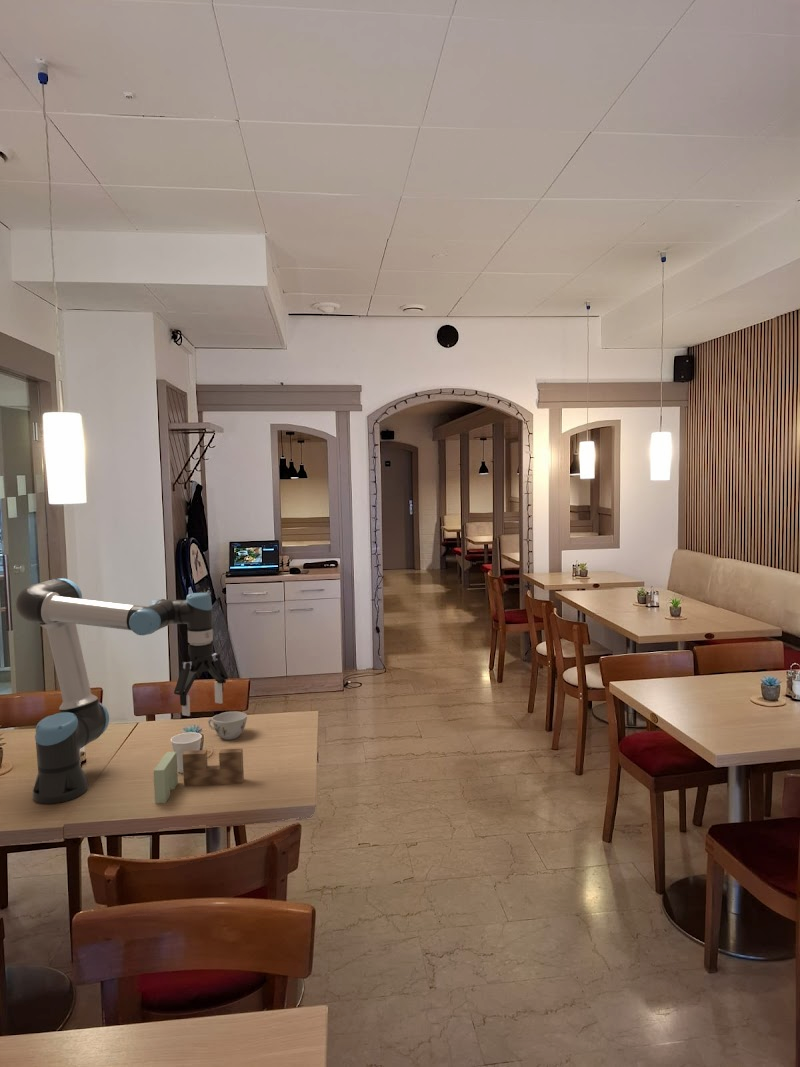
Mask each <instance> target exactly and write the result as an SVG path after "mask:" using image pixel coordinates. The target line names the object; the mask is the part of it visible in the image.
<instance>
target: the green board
mask: <svg viewBox="0 0 800 1067" xmlns="http://www.w3.org/2000/svg"><path fill="white" fill-rule="evenodd" d="M178 772H179V771H178V768H177V752H174V751H166V753H165V754H164V755H163V757H162V758H161V759H160V761H159V762H158V764H157V765H156V766H155V768H154V769H153V784H154V785H153V786H154V803H155V804H166V803H167V801H168V800H169V798H170V797H171V792H170V791H171V790H175V788H176V786H177V785H178V783H179V777H178V774H179V773H178Z"/></svg>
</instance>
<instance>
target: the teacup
mask: <svg viewBox="0 0 800 1067" xmlns="http://www.w3.org/2000/svg"><path fill="white" fill-rule="evenodd" d="M247 720H248V715H247V713H246V712H243V711H239V710H238V711H236V710H235V711H225V712H221V713H219V714H215V715H214V716H212V717H209V718H208V720H207V722H208V727H209V728H210V729H211V730H214V731H215V732H216V734H217V735H218V736H220V737H221V738H222V739H223V740H226V741H231V740H236V739H238V737H240V735H241V734H242V733H243V731H244V730H245V727H246V724H247ZM211 722H212V725H213V726H212V725H211Z"/></svg>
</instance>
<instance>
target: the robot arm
mask: <svg viewBox="0 0 800 1067" xmlns="http://www.w3.org/2000/svg"><path fill="white" fill-rule="evenodd" d="M15 608H16V611H17V613H18V615H19V616H20V617H21V618H22V619H24V620H26V621H28V622H32V623H39V626H40V627H41V628H44V630H46V633H47V637H48V642H49V646H50V650H51V655H52V659H53V664H54V668H55V673H56V676H57V681H58V686H59V690H60V693H61V699H62V702H61V704H60V706H59V707H58V708H59V712H57V713H54V714H53V715H47V716H46V717H44V718H42V719H41V720H39V722H38V723H37V724H36V727H35V735H34V739H35V746H36V759H37V760H36V761H37V775H36V778H35V781H34V782H35V783H34V786H33V789H32V798H33V799H32V800H33V801H34V802H36V803H39V804H45V805H50V804H51V805H52V804H58V803H64V802H68V801H71V800H74V799H76V798H78V797H80V796H82V795H83V794H85V793H86V792H87V790H88V788H89V787H88V786H89V785H88V779H87V777H86V774H85V773H84V770H83V769H82V768H83V767H82V766H81V760H80V759H81V758H80V750H81V749H83V747H84V748H85V747H86V746H87V745H89V744H90V743H92V742H93V741H95V740H97V739H98V738H100V737H101V735H103V734H104V733H105V732H106V730H107V729H108V727H109V723H110V715H109V711H108V709H107V707H106V706H104V705H103V703H102V702H99V698H98V696H96V695H95V694H92V690H91V686H90V682H89V678H88V672H87V668H86V663H85V659H84V655H83V650H82V646H81V645H82V644H81V641H80V637H79V634H78V633H79V632H78V629H77V625H84V626H91V627H100V628H109V629H117V630H126V631H132V632H133V633H134V634H136V635H137V636H147V635H151V634H153V633H155V632H157V631H158V630H161V629H164V628H166V627H168V626H169V625H170V626H171V625H187V643H189V644H188V645H187V646H188V647H187V650H188V653H187V654H188V656H189V659H190V660H189V661H187V662H186V661H182V662H181V668H180V672H179V675H178V678H177V682H176V685H175V688H174V691H173V694H174V695H177V696H179V703H180V706H181V714H182V716H185V717H186V716H187V717H190V716H191V703H190V702H191V700H190V697H191V696H190V694H188V693H189V692H190V690H191V688H192V686H193V684H194V682H195V679H196V678H197V677H198V676H199V675H200V674H202V673H205V672H208V674H210V676H211V677H212V678H213V679H214V680H215V681H216V682H214V685H213V688H214V703H215V704H223V700H224V698H223V692H224V684H226V682H227V680H228V679H229V676H228V673H227V671H226V669H225V666H224V664H223V663H222V662H223V661H222V660H221V654H220V653H216V652H214V643H213V640H214V633H213V602H212V595H211V594H210V593H207V592H193V593H188V594H187V595H186V599H165V598H161V599H153V600H152V601H151V602H150V604H148V606H144V605H136V604H128V603H127V604H126V603H119V602H111V601H103V600H94V599H88V598H87V599H84V598H83V594H82V591H81V589H80V587H79V586H78V585H77V584H76V583H75V582H74V581H72V580H71V579H68V578H53V579H49V580H45V581H42V582H38V583H32V584H29V585H27V586H26V587H24V588H22V590H20V592H18V595H17V596H16V600H15ZM212 662H213V663H212Z"/></svg>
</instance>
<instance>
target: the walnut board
mask: <svg viewBox="0 0 800 1067" xmlns="http://www.w3.org/2000/svg"><path fill="white" fill-rule="evenodd" d="M243 752H244V751H243V748H221V749H220V750H219V752H218V761H219V762H218V765H217V764H216V765H208V750H207V749H200V750H192V751H184V753H183V773H182V775H183V786H203V785H204V786H207V785H209V786H210V785H225V784H227V785H228V784H229V785H230V784H243V782H244V779H245V777H244V775H245V774H244V773H245V772H244V753H243Z"/></svg>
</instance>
